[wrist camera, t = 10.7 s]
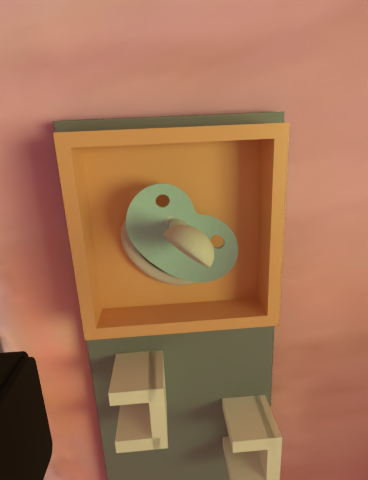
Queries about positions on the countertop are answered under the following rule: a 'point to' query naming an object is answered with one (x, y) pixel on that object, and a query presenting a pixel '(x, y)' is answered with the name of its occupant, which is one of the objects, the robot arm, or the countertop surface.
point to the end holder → (170, 172)
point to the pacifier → (176, 238)
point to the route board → (185, 380)
